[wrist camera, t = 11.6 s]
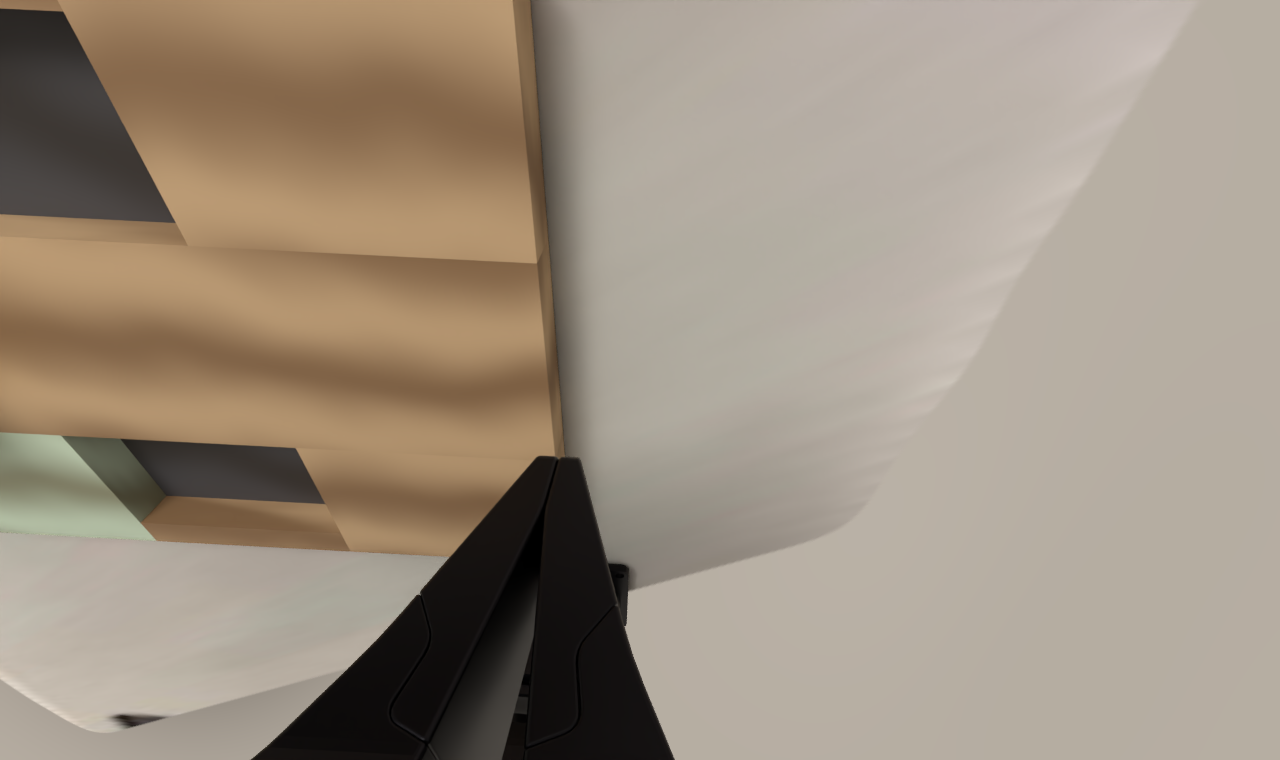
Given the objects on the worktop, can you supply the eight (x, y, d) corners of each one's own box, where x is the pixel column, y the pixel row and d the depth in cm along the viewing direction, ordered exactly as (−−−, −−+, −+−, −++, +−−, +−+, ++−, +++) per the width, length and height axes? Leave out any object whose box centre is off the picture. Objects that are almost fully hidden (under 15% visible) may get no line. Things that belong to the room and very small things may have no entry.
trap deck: (570, 529, 28) (564, 563, 26) (-16, 498, 28) (-56, 529, 26) (526, -45, 13) (507, -49, 11) (-712, -103, 13) (-897, -113, 12)
